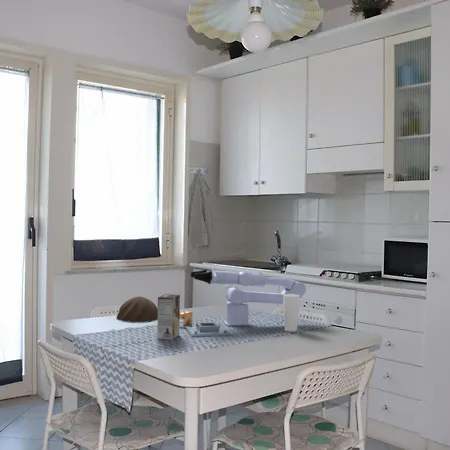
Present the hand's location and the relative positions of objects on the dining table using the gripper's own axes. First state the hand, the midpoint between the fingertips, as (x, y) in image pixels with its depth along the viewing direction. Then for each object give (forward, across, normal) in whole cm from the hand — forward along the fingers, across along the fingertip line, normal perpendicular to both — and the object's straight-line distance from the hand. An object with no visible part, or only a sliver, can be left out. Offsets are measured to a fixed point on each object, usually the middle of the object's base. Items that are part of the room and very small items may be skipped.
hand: (192, 275), depth 239 cm
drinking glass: (-41, +17, +19) cm, 48 cm away
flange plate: (-6, +14, +21) cm, 26 cm away
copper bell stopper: (0, +1, +22) cm, 22 cm away
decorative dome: (+20, -20, +24) cm, 37 cm away
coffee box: (+11, +21, +23) cm, 33 cm away
